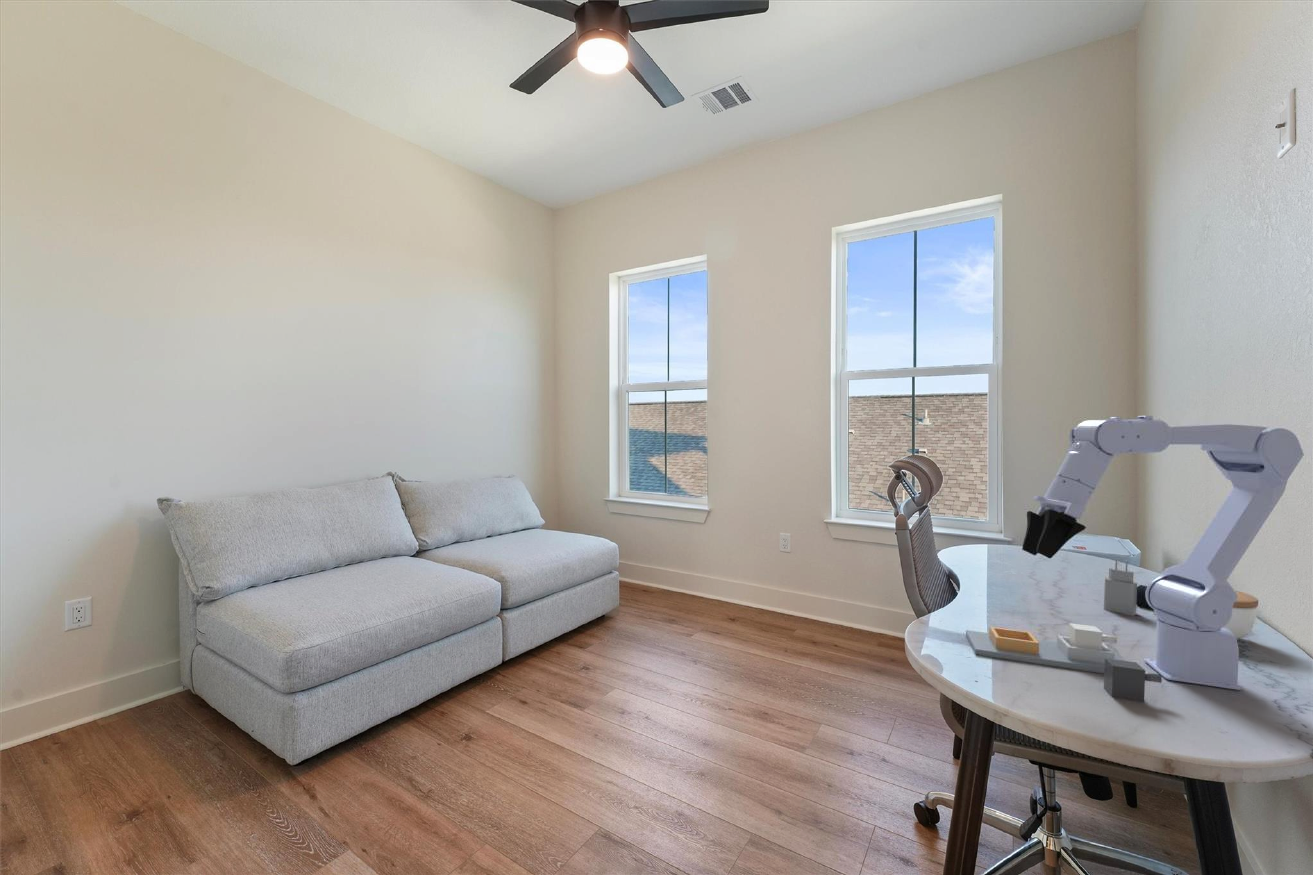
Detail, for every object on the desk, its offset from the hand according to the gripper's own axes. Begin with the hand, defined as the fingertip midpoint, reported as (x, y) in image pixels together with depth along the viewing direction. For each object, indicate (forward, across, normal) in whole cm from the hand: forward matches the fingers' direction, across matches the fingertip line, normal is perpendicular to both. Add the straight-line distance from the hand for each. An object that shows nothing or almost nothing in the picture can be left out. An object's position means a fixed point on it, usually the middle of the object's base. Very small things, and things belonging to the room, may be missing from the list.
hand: (1035, 553), depth 92 cm
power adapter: (0, -47, +32) cm, 57 cm away
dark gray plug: (+14, +1, +20) cm, 24 cm away
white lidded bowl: (-4, -36, +43) cm, 56 cm away
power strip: (+15, -12, +12) cm, 23 cm away
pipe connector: (-7, -52, +45) cm, 69 cm away
